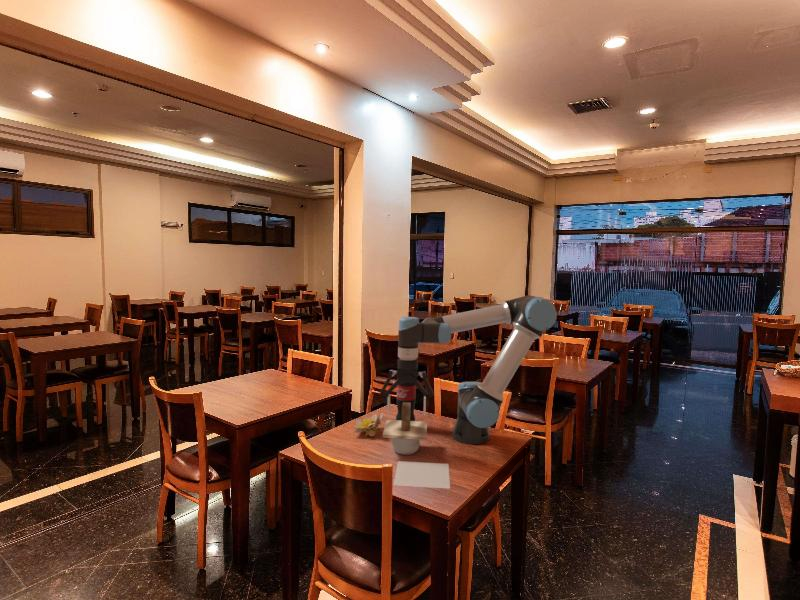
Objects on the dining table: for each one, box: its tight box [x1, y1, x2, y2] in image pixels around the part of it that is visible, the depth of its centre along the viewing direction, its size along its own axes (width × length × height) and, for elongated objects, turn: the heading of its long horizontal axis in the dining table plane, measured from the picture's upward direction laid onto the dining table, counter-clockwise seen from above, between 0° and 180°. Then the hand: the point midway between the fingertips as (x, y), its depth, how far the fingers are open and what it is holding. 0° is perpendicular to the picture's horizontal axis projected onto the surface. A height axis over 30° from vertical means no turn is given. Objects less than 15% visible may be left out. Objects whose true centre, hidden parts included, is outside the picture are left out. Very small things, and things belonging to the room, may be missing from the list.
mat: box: [393, 460, 451, 490], centre depth 155 cm, size 18×18×1 cm
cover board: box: [381, 402, 428, 441], centre depth 174 cm, size 16×16×10 cm
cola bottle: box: [395, 382, 417, 421], centre depth 199 cm, size 8×8×30 cm
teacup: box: [390, 438, 420, 456], centre depth 175 cm, size 14×11×8 cm
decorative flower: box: [353, 412, 384, 437], centre depth 193 cm, size 15×11×10 cm
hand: (406, 413), depth 174 cm, fingers open, 13 cm apart
